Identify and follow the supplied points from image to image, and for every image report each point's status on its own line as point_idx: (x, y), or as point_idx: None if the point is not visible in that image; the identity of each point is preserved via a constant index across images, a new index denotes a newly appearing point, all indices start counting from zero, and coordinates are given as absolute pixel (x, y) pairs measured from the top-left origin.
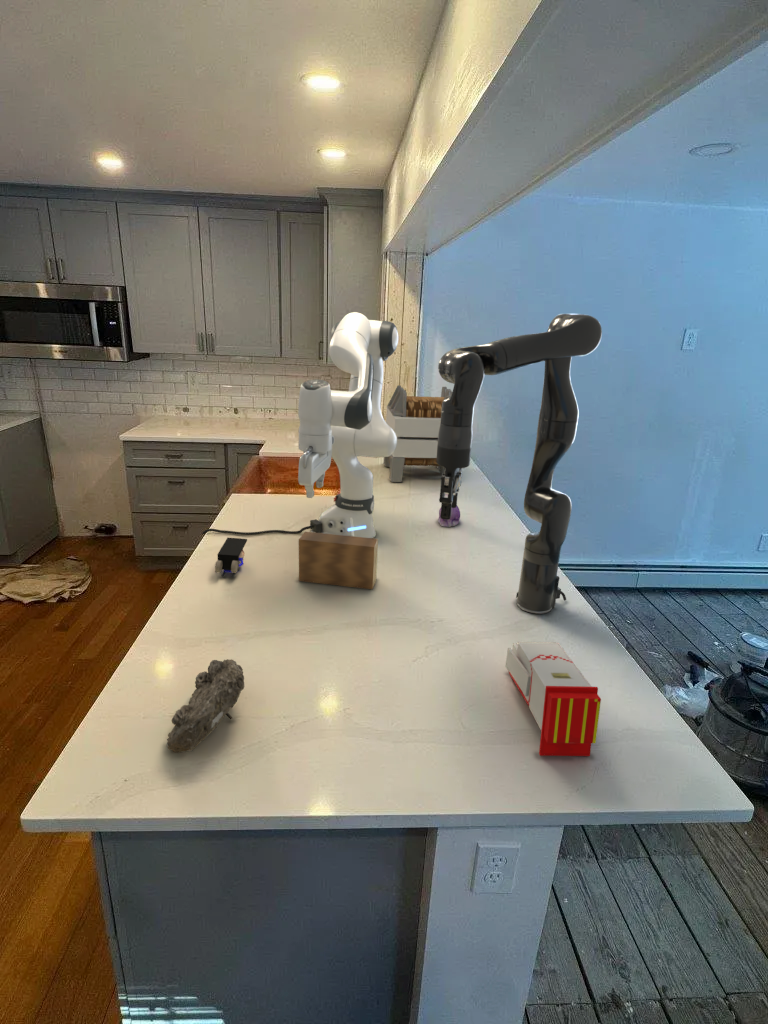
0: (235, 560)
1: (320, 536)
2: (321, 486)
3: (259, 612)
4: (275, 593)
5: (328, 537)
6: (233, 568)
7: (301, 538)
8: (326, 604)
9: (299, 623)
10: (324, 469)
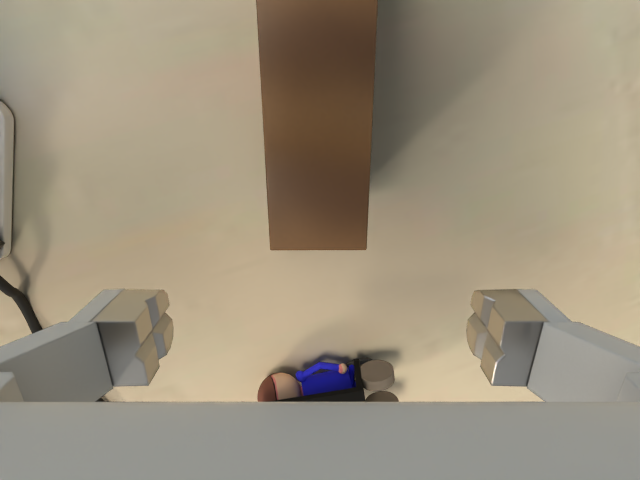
0: (362, 385)
1: (309, 166)
2: (161, 297)
3: (540, 241)
4: (435, 236)
5: (310, 124)
6: (393, 373)
7: (353, 241)
8: (486, 70)
9: (600, 121)
10: (46, 461)
